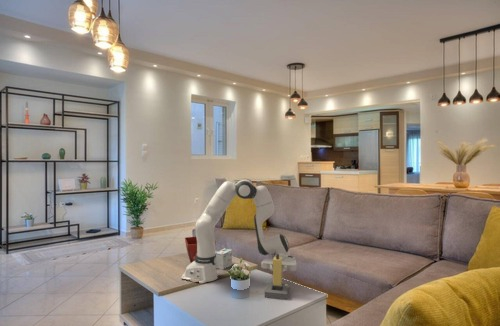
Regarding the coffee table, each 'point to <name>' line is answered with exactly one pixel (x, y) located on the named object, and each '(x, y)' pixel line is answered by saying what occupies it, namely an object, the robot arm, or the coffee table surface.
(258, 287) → the coffee table surface
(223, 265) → the light bulb box
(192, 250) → the plant pot
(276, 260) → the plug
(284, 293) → the socket
